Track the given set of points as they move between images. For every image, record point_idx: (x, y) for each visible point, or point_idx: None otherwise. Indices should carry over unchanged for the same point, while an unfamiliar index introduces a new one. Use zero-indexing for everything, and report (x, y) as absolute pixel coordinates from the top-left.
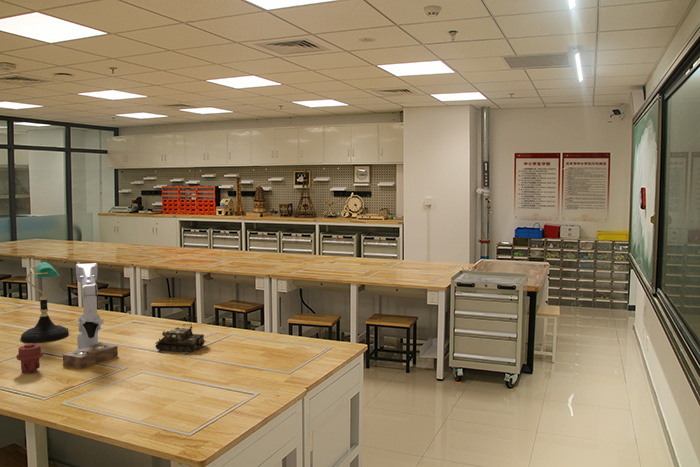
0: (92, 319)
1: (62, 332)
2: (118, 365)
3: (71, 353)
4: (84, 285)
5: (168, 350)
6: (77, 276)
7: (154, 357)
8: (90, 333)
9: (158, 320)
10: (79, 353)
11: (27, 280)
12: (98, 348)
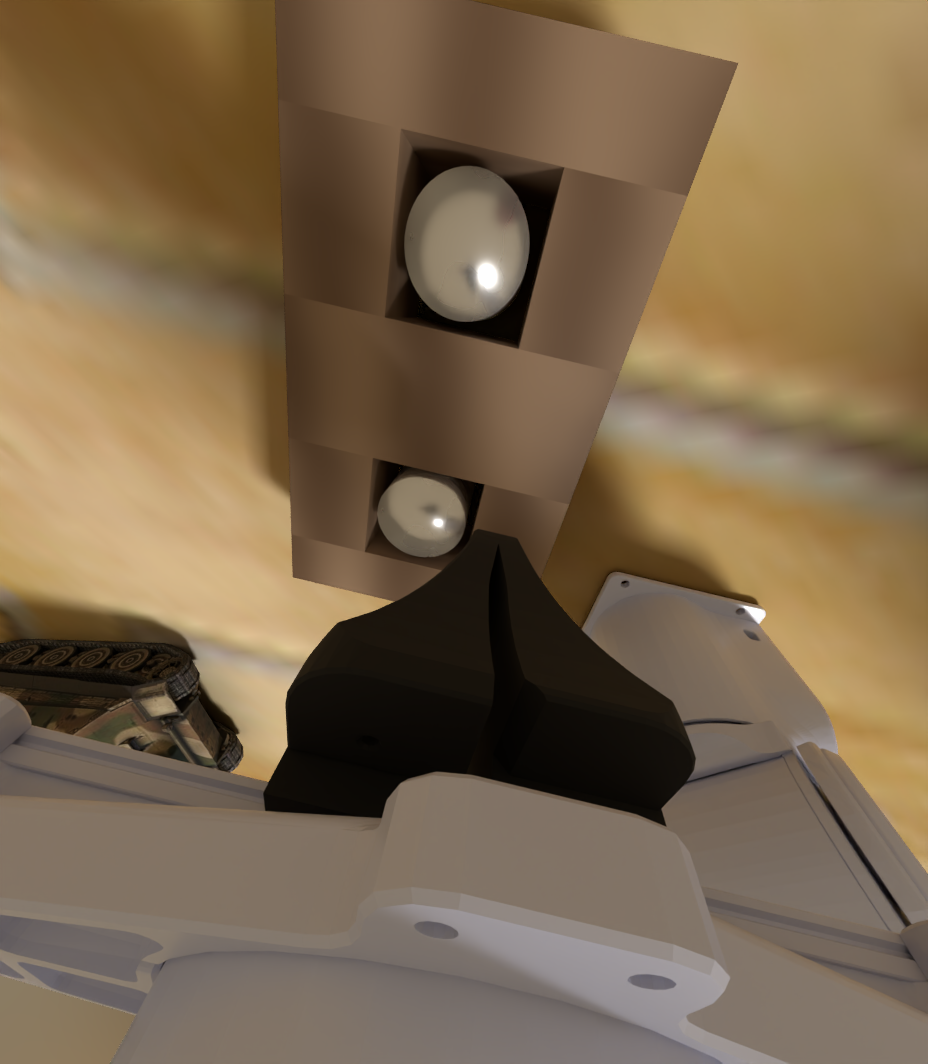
0: (152, 979)
1: None
2: (117, 309)
3: (604, 175)
4: None
5: (132, 650)
6: None
7: (86, 540)
8: (453, 562)
9: None
10: (485, 225)
11: None
12: (405, 483)
